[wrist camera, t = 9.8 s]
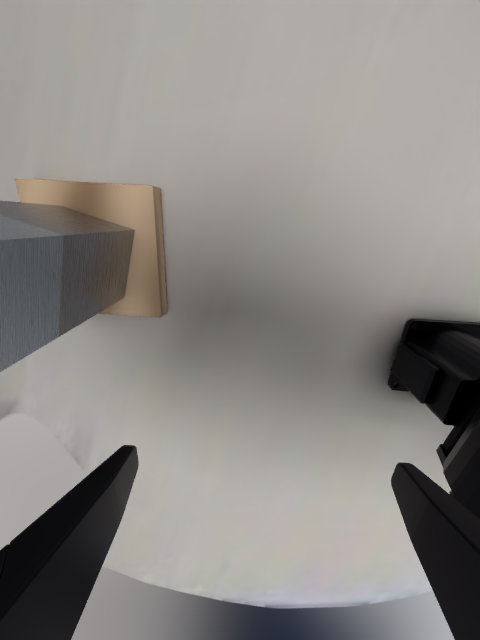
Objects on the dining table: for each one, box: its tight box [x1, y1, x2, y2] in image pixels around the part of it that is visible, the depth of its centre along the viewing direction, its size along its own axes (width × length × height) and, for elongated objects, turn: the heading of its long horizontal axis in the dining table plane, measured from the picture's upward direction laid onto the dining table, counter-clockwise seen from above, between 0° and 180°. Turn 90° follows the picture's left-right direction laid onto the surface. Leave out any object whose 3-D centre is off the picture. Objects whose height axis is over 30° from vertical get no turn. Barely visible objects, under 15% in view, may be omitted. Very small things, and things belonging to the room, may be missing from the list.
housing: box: [0, 201, 135, 372], centre depth 12 cm, size 5×5×13 cm
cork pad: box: [15, 179, 167, 317], centre depth 19 cm, size 9×9×2 cm
